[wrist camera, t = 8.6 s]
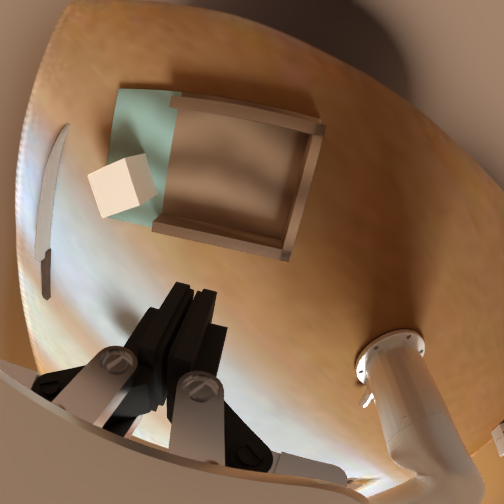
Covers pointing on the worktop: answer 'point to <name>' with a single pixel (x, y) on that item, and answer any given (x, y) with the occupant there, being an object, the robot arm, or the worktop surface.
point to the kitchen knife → (48, 213)
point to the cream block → (122, 185)
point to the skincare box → (499, 438)
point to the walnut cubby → (219, 167)
